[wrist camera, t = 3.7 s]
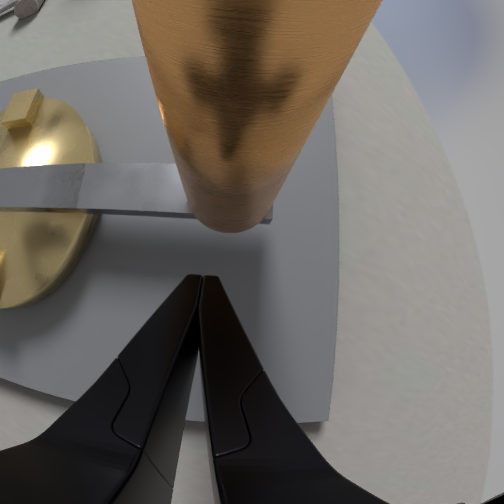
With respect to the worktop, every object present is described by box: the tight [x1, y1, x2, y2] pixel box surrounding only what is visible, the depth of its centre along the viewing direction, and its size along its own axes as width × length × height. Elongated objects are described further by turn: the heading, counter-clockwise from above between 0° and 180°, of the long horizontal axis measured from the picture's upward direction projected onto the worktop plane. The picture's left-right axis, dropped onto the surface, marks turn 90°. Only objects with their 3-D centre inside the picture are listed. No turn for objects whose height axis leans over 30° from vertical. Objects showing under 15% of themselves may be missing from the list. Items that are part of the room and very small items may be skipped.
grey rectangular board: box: [0, 57, 339, 423], centre depth 17 cm, size 34×24×2 cm
